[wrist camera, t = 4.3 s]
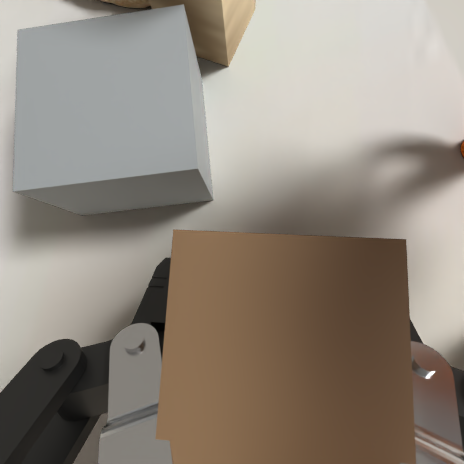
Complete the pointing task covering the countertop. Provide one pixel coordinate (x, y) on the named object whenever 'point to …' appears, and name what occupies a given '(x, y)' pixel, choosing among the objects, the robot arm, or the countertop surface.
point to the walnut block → (287, 350)
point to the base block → (111, 114)
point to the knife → (462, 149)
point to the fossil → (130, 3)
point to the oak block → (214, 25)
